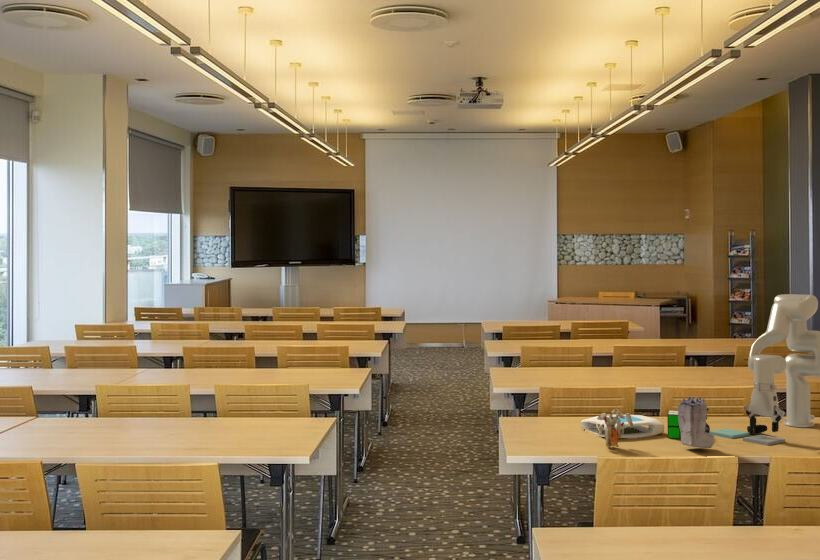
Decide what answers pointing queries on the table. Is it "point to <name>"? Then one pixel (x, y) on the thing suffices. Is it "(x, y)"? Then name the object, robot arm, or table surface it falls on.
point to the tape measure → (757, 429)
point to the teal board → (729, 433)
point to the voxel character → (613, 427)
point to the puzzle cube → (673, 425)
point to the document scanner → (637, 421)
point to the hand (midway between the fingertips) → (763, 429)
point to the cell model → (694, 423)
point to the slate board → (764, 439)
